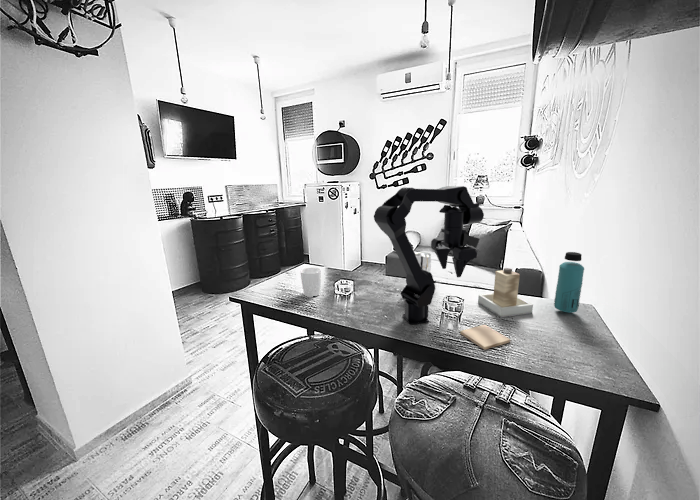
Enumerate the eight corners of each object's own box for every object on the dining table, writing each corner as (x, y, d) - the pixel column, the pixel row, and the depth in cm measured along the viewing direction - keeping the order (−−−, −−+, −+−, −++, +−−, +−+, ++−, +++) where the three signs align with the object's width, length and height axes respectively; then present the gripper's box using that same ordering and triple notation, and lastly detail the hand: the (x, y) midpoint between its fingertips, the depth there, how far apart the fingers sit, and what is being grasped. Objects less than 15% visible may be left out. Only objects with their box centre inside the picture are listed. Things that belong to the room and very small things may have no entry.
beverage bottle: (570, 319, 89) (580, 256, 84) (548, 310, 95) (556, 252, 90) (581, 314, 92) (592, 253, 87) (559, 306, 98) (567, 249, 93)
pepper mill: (502, 310, 95) (506, 272, 92) (492, 303, 100) (495, 267, 97) (515, 308, 96) (520, 270, 93) (505, 302, 101) (509, 266, 98)
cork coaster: (484, 349, 75) (484, 347, 75) (460, 333, 83) (460, 330, 83) (510, 342, 78) (510, 339, 78) (484, 326, 86) (484, 324, 86)
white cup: (326, 292, 117) (324, 269, 114) (313, 299, 110) (311, 274, 108) (311, 289, 121) (309, 266, 119) (298, 295, 115) (296, 272, 112)
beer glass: (430, 294, 112) (432, 256, 108) (412, 293, 113) (413, 256, 110) (429, 287, 118) (430, 252, 115) (412, 286, 120) (412, 251, 116)
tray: (500, 317, 92) (501, 308, 91) (477, 302, 103) (478, 294, 102) (532, 313, 94) (533, 304, 93) (506, 299, 105) (507, 291, 104)
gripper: (495, 229, 85) (491, 279, 88) (460, 220, 102) (457, 263, 106) (461, 231, 83) (458, 283, 86) (431, 222, 100) (429, 265, 104)
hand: (451, 272), depth 96 cm, fingers open, 9 cm apart
